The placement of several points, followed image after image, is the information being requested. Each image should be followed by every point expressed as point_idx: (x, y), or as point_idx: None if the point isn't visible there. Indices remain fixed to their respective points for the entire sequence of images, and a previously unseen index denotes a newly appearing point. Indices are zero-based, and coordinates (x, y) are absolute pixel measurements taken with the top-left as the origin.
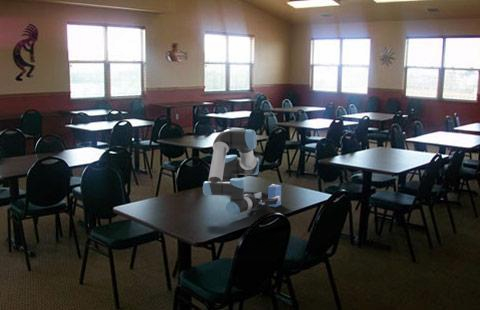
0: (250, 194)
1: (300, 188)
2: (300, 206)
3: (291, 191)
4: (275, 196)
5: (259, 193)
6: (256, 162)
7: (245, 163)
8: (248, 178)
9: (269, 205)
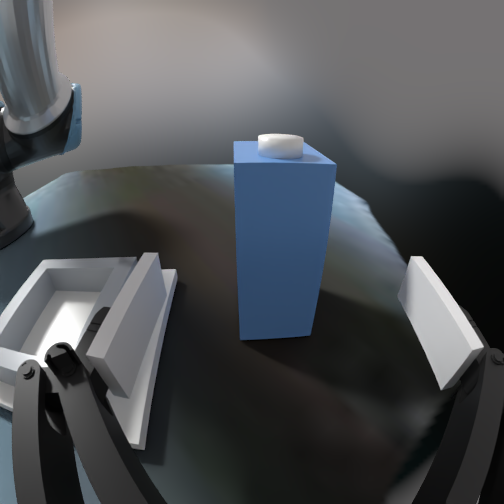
0: (62, 262)
1: (214, 165)
2: (381, 252)
3: (205, 178)
4: (324, 257)
5: (146, 283)
6: (69, 90)
7: (16, 95)
8: (63, 178)
9: (255, 335)
